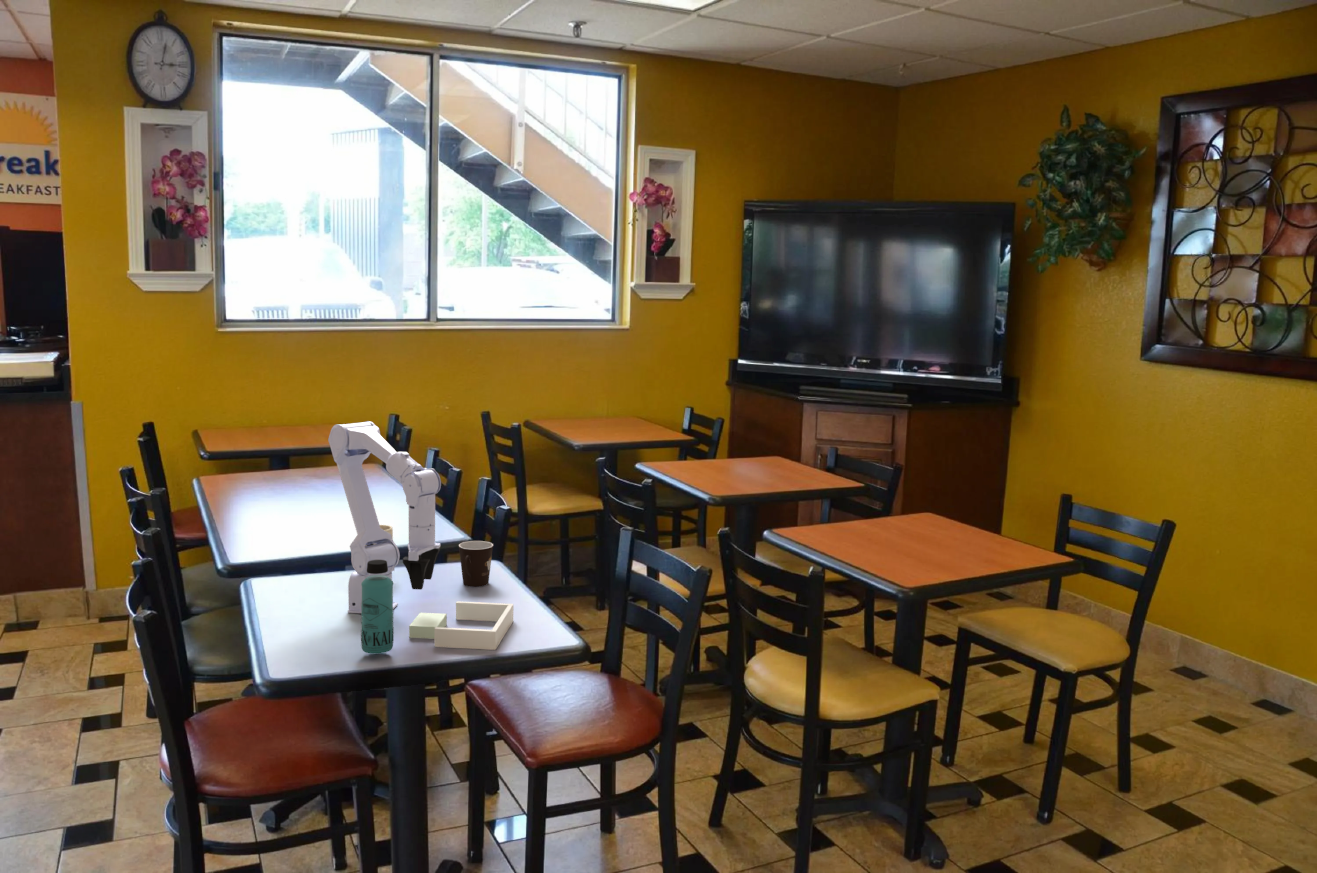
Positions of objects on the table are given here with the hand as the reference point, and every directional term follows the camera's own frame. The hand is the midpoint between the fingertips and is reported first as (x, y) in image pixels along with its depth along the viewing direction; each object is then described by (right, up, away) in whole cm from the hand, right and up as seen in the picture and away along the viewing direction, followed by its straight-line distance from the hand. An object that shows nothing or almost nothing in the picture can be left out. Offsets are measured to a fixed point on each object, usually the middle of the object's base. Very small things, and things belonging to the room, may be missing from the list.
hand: (422, 583), depth 230 cm
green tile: (+2, -10, -2) cm, 11 cm away
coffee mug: (+5, -5, +33) cm, 34 cm away
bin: (+12, -10, -3) cm, 17 cm away
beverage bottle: (-5, -12, -18) cm, 22 cm away
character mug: (-20, -4, +37) cm, 42 cm away
